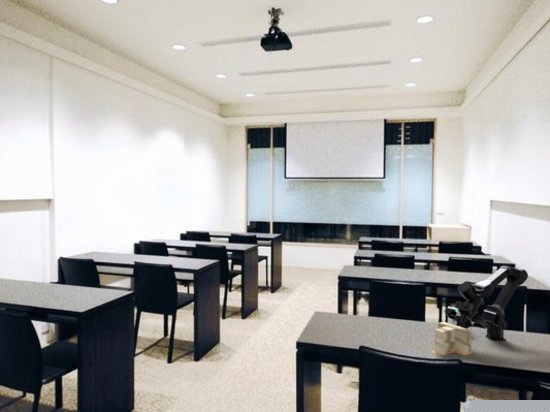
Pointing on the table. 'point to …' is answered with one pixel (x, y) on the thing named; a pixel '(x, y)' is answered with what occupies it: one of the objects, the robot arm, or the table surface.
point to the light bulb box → (452, 319)
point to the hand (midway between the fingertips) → (457, 332)
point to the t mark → (451, 352)
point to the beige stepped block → (452, 339)
